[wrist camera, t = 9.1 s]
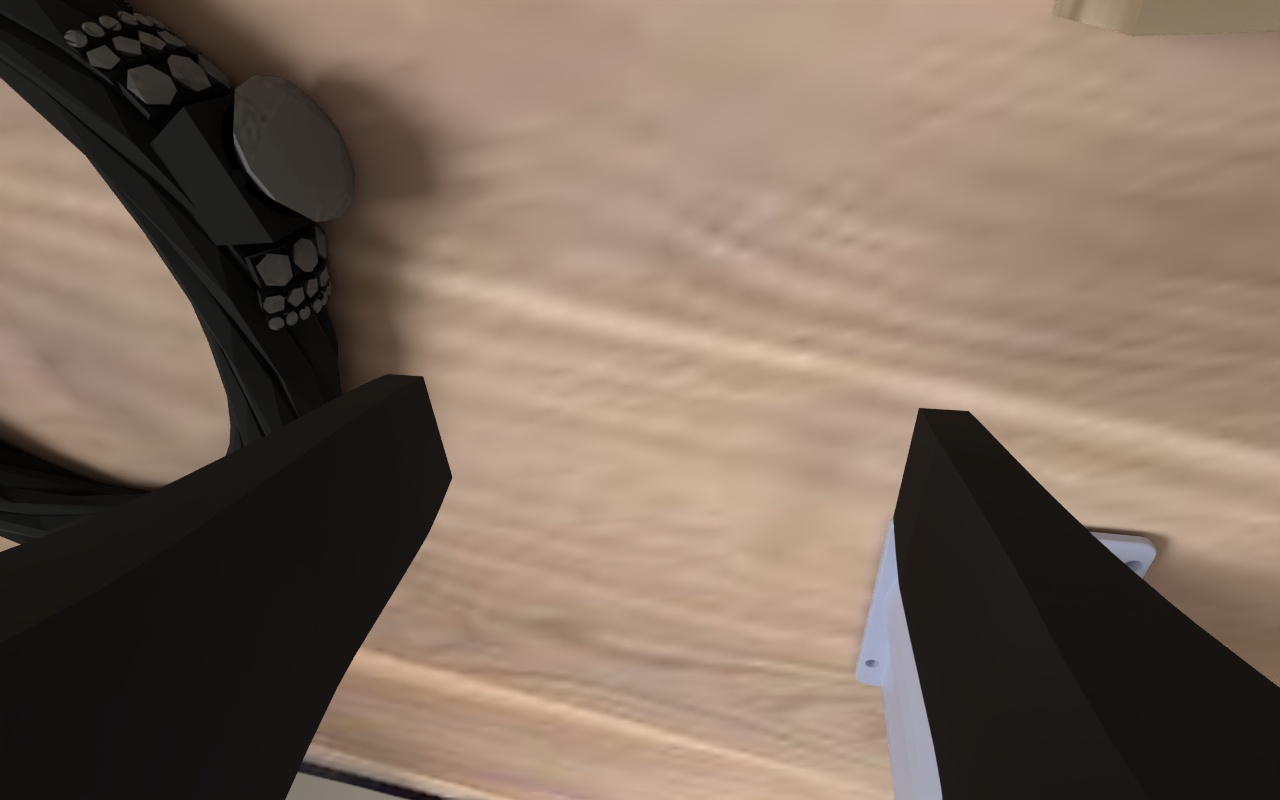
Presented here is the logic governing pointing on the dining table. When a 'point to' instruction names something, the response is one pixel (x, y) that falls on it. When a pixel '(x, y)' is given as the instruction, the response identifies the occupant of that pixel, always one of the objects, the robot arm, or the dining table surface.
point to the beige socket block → (1173, 15)
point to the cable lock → (189, 214)
